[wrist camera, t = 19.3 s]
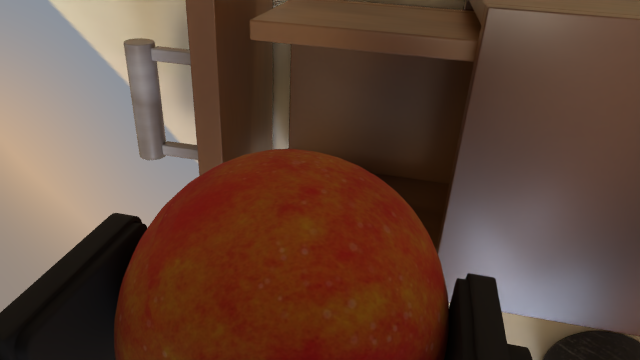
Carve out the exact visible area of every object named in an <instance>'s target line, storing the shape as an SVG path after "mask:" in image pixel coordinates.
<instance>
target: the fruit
mask: <svg viewBox="0 0 640 360" xmlns="http://www.w3.org/2000/svg"><path fill="white" fill-rule="evenodd" d="M448 335H449V301H448V292H447V288H446V283H445V279H444V274H443V270H442V266H441V262H440V259H439V257H438V254H437V252H436V249H435V247H434V245H433V242H432V240H431V238H430V236H429V234H428V232H427V230H426V228H425V227H424V225H423V224H422V222H421V221H420V219H419V218H418V216H417V214H416V213H415V211H414V210H413V209H412V208H411V207H410V205H409V204H408V203H407V202H406V201H405V200H404V199H403V198H402V197H401V196H400V195H399V194H398V192H396V191H395V190H394V189H393V188H391V187H390V186H389V185H388V184H386V183H385V182H384V181H382V180H381V179H380V178H379V177H377V176H375V175H374V174H372V173H370V172H369V171H367V170H365V169H363V168H362V167H360V166H358V165H356V164H353V163H351V162H348V161H346V160H343V159H341V158H338V157H335V156H331V155H327V154H323V153H320V152H314V151H306V150H298V149H273V150H266V151H261V152H256V153H251V154H245V155H243V156H240V157H237V158H235V159H232V160H230V161H227V162H224V163H222V164H219V165H217V166H216V167H214V168H212V169H210V170H209V171H207V172H205V173H204V174H202V175H201V176H199V177H197V178H196V179H194V180H193V181H191V182H190V183H189V184H187V185H186V186H185V187H184V188H183V189H182V190H181V191H180V192H179V193H177V194H176V195H175V196H174V197H173V198H172V199H171V200H170V201H169V202H168V203H167V204H166V205H165V206H164V207H163V208H162V209H161V211H160V212H159V213H158V214H157V216H156V217H155V219H154V220H153V221H152V223H151V224H150V226H149V227H148V228H147V230H146V231H145V233H144V234H143V236H142V237H141V239H140V241H139V242H138V244H137V247H136V249H135V251H134V253H133V255H132V258H131V260H130V262H129V265H128V267H127V270H126V272H125V275H124V277H123V280H122V284H121V287H120V292H119V297H118V302H117V308H116V313H115V321H114V349H115V359H116V360H444V358H445V353H446V348H447V343H448Z"/></svg>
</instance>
